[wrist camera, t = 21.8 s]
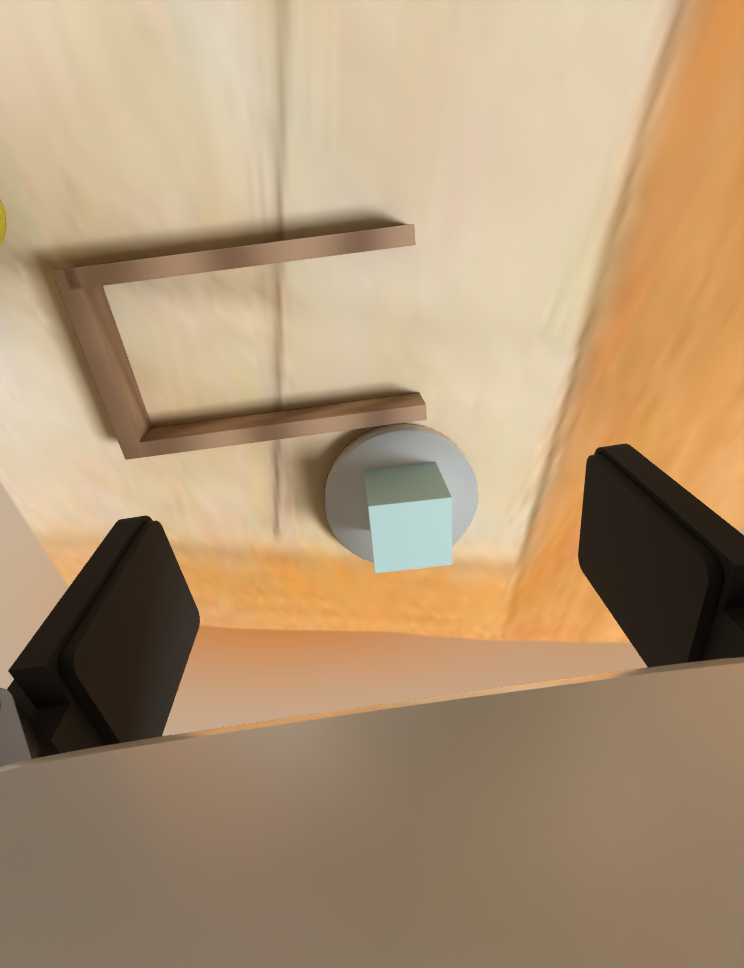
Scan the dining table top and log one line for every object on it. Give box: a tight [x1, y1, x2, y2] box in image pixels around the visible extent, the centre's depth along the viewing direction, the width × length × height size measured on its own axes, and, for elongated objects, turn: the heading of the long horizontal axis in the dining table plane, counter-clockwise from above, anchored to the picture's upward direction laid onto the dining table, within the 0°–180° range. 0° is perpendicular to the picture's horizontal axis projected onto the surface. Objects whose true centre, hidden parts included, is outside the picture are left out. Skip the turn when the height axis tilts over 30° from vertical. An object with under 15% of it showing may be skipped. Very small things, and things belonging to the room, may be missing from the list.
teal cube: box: [364, 462, 452, 573], centre depth 32 cm, size 5×5×5 cm
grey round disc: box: [325, 424, 478, 563], centre depth 35 cm, size 11×11×2 cm
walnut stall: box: [52, 224, 427, 460], centre depth 29 cm, size 19×11×2 cm, turn 97°
